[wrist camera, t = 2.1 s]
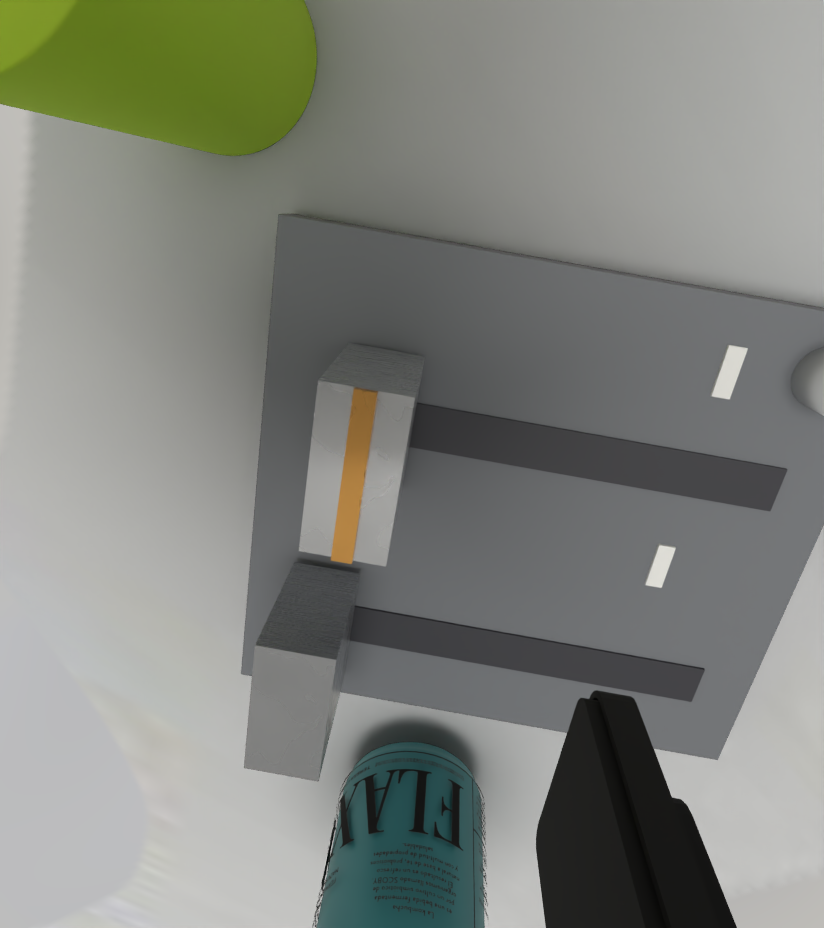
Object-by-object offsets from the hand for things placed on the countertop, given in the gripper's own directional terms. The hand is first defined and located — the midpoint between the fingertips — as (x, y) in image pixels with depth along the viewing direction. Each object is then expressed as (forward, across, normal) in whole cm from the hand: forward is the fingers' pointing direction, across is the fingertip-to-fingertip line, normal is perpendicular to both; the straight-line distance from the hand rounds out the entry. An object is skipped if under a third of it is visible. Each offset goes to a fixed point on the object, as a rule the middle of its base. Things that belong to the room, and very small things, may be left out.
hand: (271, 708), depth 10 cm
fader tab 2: (+13, 0, -1) cm, 13 cm away
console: (+16, -6, +2) cm, 17 cm away
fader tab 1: (+13, +1, +8) cm, 15 cm away
